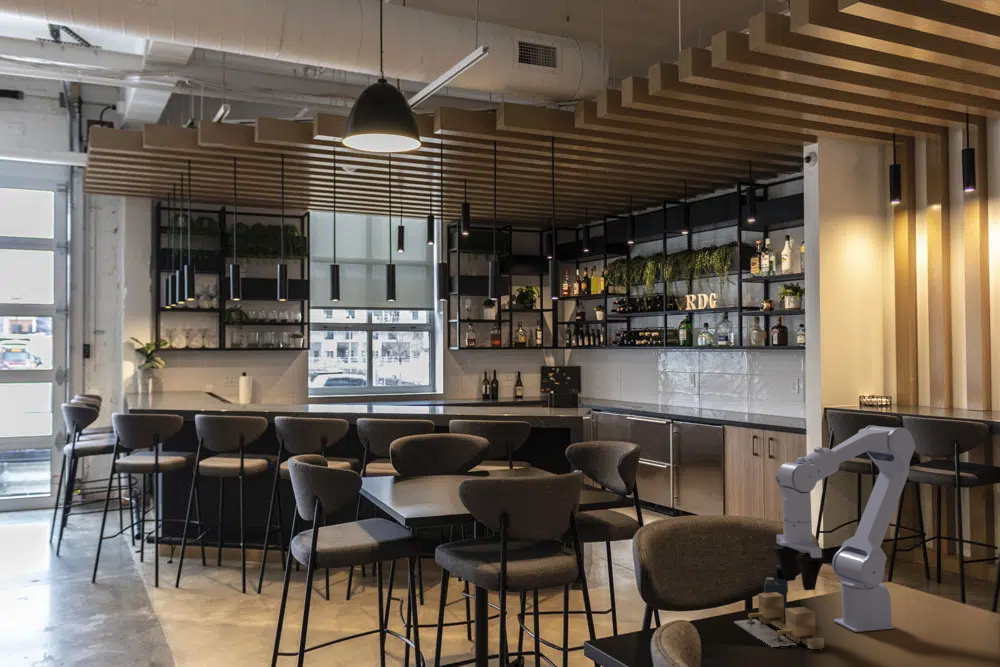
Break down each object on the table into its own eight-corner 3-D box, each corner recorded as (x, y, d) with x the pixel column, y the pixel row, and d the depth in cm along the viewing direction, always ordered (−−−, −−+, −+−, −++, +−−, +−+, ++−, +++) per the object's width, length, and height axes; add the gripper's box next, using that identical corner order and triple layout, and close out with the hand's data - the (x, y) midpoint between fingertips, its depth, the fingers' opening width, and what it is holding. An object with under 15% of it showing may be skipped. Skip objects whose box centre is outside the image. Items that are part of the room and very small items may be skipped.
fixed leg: (777, 619, 185) (776, 592, 185) (784, 623, 182) (783, 595, 182) (746, 621, 183) (744, 594, 184) (752, 626, 181) (751, 598, 181)
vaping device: (789, 616, 187) (787, 563, 187) (765, 615, 188) (763, 562, 188) (788, 613, 189) (786, 560, 190) (764, 612, 190) (762, 559, 191)
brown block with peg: (805, 635, 174) (804, 606, 174) (816, 641, 170) (815, 612, 170) (772, 638, 172) (771, 609, 172) (782, 644, 168) (781, 615, 168)
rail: (769, 616, 187) (768, 607, 187) (824, 649, 166) (823, 638, 166) (756, 617, 187) (756, 608, 187) (810, 650, 165) (810, 640, 165)
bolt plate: (755, 621, 184) (755, 618, 184) (796, 646, 168) (796, 643, 168) (734, 622, 183) (733, 620, 183) (772, 648, 167) (772, 645, 167)
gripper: (762, 515, 182) (764, 577, 181) (798, 527, 168) (800, 595, 167) (792, 513, 183) (794, 575, 183) (829, 525, 169) (832, 592, 168)
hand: (799, 584), depth 175 cm, fingers open, 7 cm apart
